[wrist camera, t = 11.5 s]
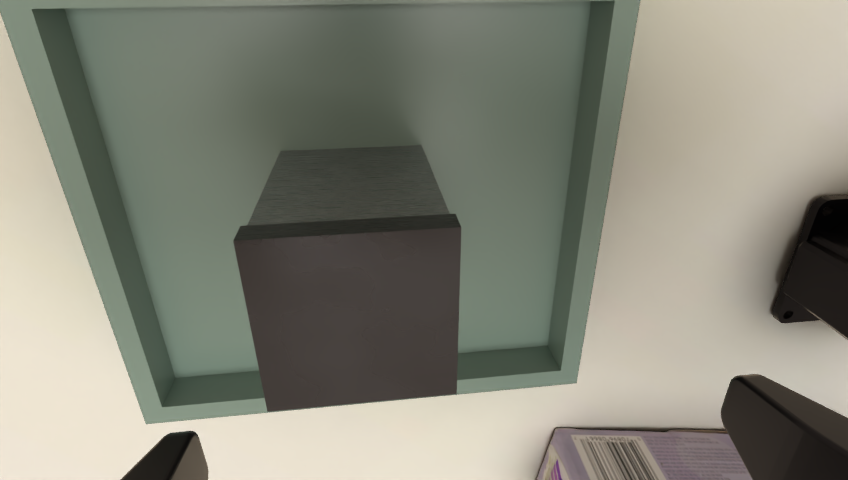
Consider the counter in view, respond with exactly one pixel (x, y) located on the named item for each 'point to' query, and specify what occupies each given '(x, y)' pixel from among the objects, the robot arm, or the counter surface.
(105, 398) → the counter surface
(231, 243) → the tray
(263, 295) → the capped grey block
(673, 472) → the cake pan box
